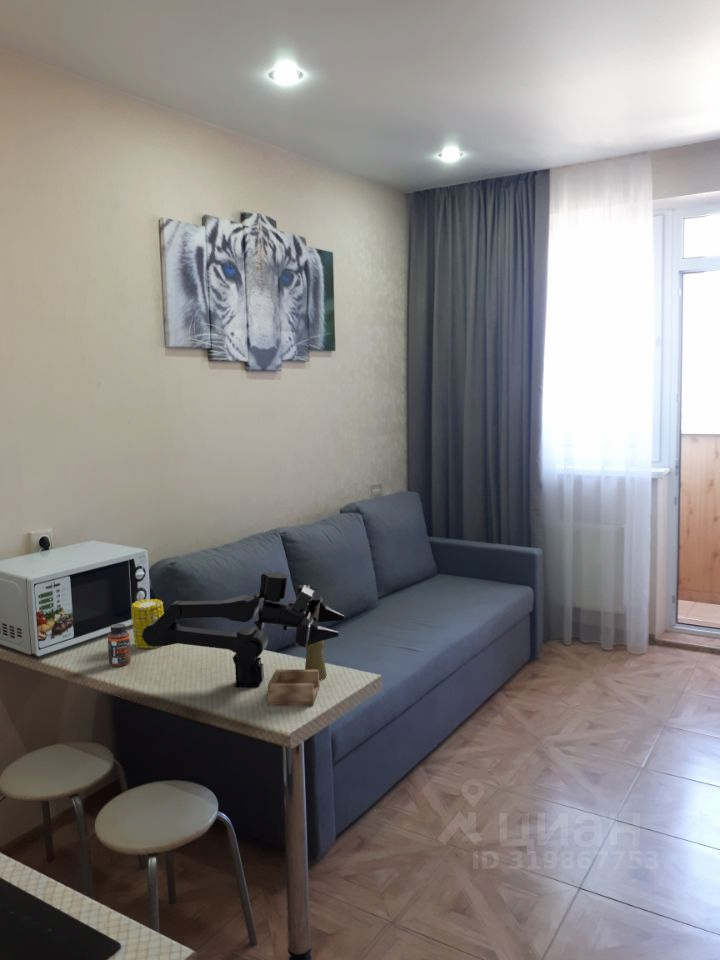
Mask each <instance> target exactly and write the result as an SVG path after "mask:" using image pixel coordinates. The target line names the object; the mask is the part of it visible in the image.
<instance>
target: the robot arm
mask: <svg viewBox="0 0 720 960" xmlns="http://www.w3.org/2000/svg"><path fill="white" fill-rule="evenodd" d="M288 579H289V575H287V574H286V573H282V572H279V571H276V572H263V573H261V575H260V587H259V591H258V592H257V593H255V594H253V595H252V594H245V595H238V596H234V597H232V598H228V599H224V600H184V601H183V600H176V601H174V602H173V603H172V604H170V605H169V606H168V609H167V610H165V612H164V614H163V615H162V616H161V617H160V618H159V619H157V620H155V621H154V622H152V623H151V624H150V625H148V626H147V627H146V628H145V629H144V630H143V634H142V636H143V640H144V641H145V643H146V644H147V645H148V646H151V647H153V648H155V647H157V646H159V647H166V646H167V647H168V646H172V645H176V644H177V645H179V644H180V645H188V646H196V647H204V648H215V649H222V650H229V651H231V652H232V653H234V655H233V657H232V661H233V663H234V665H235V666H234V667H235V669H234V670H235V683H234V688H235V687H236V688H241V687H242V688H243V687H246V688H247V687H253V688H257V687H260V685H261V683H262V682H263V681H264V679H265V674H264V672H265V671H264V669H265V667H264V663H262V658H261V657H259V656H261V654H262V653H263V651H265V649H266V648H267V646H268V643H269V638H268V636H267V633H266V632H265V631H263V628H264V627H265V624H267V625H273V626H279V627H282V630H284V631H288V629H294V630H295V631H296V632H295V641H294V644H296V646H297V647H299V648H303V649H306V645H307V642H308V646H310V644H313V643H316V642H319V641H323V640H324V641H326V640H330V639H333V638H334V639H335V638H337V637H339V636H340V634H339V631H336V630H333V629H331V628H327V627H324V626H320V625H319V624H318V623H326V622H328V623H329V622H337V621H338V622H339V621H344V620H345V617H346V616H345V615H344V614H342V613H340V612H338V611H336V610H334V609H332V608H331V607H329V606H328V605H327V604H326V603H325V601H324V598H323V597H322V595H319V594H316V593H315V590H314V589H312V588H311V585H310V584H307V585H306V584H300V585H299V586H298V587H297V589H296V594H297V597H296V599H295V601H292V600H291V601H289V602H288V604H286V603H280V602H281V600H283V599H285V598H286V592H287V588H288V587H287V586H288ZM314 593H315V594H314ZM261 602H263V603H262V606H261V607H260V604H261ZM257 613H258V614H257ZM256 614H257V619H255V621H254V622H253V624H254V625H255V626H256V627H255V626H254V627H253V626H252V627H250V626H247V625H242V626H241V627H240V628H239V629H238V630H237V631H233V632H232V631H225V630H216V629H209V628H208V629H206V628H199V627H192V626H191V627H190V626H184V625H180V624H179V623H177V622H178V621H179V620H180V619H190V618H191V619H193V618H194V619H195V618H196V619H197V618H224V619H226V620H230V621H233V622H238V623H247V622H250V621H251V620H252V619H253V618H254V617H255V616H256ZM316 621H317V622H316ZM307 640H308V641H307Z"/></svg>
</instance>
